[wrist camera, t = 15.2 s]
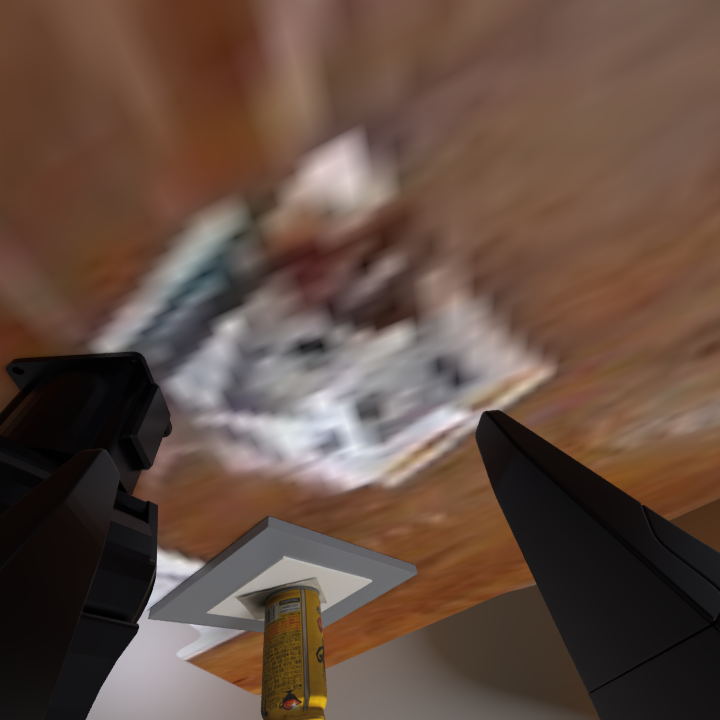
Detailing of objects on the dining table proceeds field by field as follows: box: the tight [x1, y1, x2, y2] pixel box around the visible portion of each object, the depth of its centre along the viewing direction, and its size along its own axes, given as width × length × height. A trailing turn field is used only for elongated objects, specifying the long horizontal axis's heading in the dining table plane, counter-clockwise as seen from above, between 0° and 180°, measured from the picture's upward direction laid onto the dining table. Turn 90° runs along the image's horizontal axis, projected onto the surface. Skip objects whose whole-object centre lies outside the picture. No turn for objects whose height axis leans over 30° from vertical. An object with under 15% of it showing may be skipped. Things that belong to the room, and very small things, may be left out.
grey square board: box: [148, 516, 417, 632], centre depth 39 cm, size 22×20×1 cm
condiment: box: [236, 578, 327, 720], centre depth 34 cm, size 7×8×12 cm
